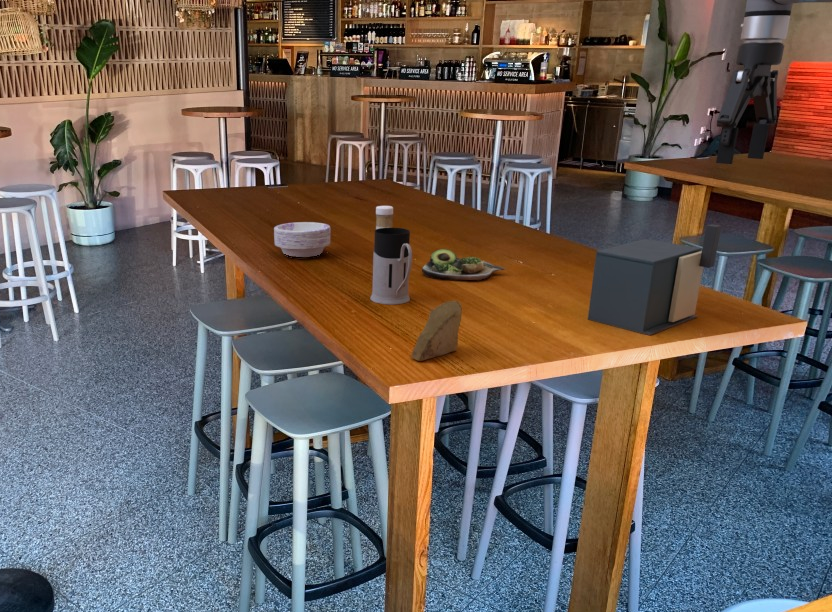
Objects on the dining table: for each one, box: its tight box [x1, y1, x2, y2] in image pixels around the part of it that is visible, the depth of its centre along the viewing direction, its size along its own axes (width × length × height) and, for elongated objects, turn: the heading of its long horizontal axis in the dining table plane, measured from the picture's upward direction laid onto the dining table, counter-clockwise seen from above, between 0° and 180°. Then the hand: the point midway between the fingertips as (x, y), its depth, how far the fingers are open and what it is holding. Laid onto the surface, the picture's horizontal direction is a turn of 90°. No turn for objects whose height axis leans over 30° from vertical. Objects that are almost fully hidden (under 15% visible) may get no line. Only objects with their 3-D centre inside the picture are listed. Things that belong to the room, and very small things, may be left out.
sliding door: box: [668, 223, 722, 322], centre depth 154 cm, size 3×9×18 cm, turn 130°
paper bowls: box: [273, 221, 331, 257], centre depth 213 cm, size 15×15×8 cm
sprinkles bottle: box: [375, 205, 394, 230], centre depth 209 cm, size 5×5×13 cm
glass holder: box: [369, 227, 413, 305], centre depth 169 cm, size 9×14×15 cm, turn 18°
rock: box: [410, 300, 463, 362], centre depth 140 cm, size 11×9×10 cm
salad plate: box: [421, 248, 506, 281], centre depth 195 cm, size 19×18×5 cm
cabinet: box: [587, 238, 702, 336], centre depth 158 cm, size 14×18×14 cm
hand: (739, 161), depth 154 cm, fingers open, 13 cm apart
